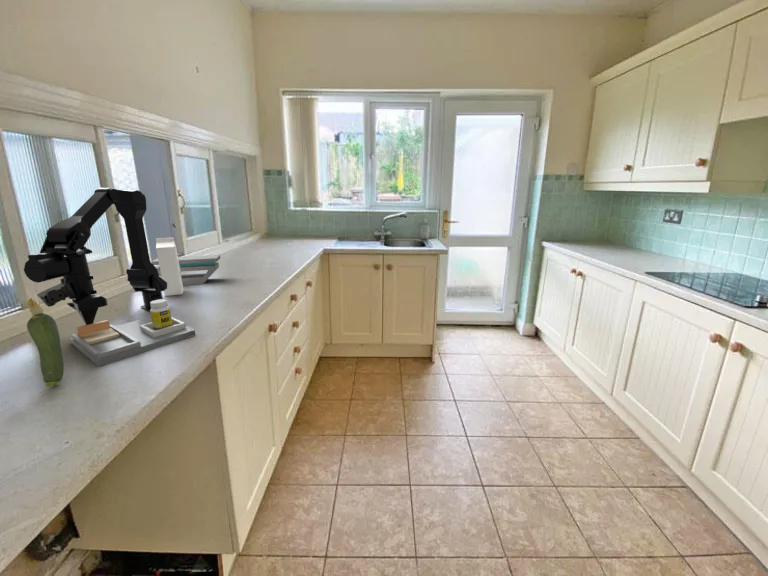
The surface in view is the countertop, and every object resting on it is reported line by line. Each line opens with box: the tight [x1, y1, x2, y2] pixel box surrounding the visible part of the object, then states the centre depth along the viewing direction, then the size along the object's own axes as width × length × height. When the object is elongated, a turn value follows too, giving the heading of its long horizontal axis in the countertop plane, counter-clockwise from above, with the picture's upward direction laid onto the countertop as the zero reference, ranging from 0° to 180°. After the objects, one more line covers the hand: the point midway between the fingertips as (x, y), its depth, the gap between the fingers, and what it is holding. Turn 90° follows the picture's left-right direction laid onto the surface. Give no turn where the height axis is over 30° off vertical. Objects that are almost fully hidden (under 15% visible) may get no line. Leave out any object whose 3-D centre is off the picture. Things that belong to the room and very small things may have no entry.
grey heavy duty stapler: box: [151, 254, 221, 286], centre depth 157 cm, size 25×8×11 cm, turn 103°
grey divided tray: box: [69, 316, 196, 367], centre depth 100 cm, size 22×23×3 cm
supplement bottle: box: [149, 298, 173, 331], centre depth 103 cm, size 5×5×8 cm
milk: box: [155, 236, 184, 297], centre depth 140 cm, size 6×6×22 cm
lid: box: [75, 319, 120, 345], centre depth 98 cm, size 8×7×3 cm
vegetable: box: [26, 298, 65, 388], centre depth 75 cm, size 4×4×20 cm
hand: (89, 326), depth 102 cm, fingers closed
